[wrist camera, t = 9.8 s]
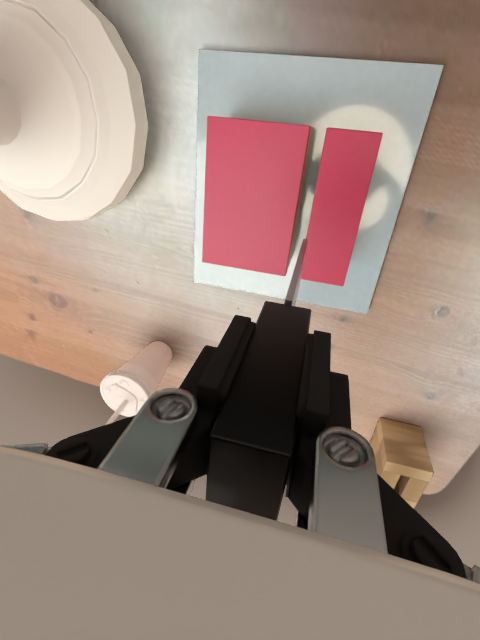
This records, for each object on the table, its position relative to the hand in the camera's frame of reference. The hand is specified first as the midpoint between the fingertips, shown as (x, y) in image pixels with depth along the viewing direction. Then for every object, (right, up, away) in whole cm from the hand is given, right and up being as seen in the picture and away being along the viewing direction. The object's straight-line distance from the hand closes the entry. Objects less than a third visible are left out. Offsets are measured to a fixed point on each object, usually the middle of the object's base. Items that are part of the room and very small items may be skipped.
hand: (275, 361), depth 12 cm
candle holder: (-19, +23, +24) cm, 38 cm away
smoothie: (-12, -3, +36) cm, 38 cm away
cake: (+1, +15, +23) cm, 27 cm away
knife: (+3, +5, +9) cm, 11 cm away
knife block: (+19, -15, +34) cm, 41 cm away
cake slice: (+8, +13, +21) cm, 26 cm away
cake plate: (+4, +14, +22) cm, 27 cm away
